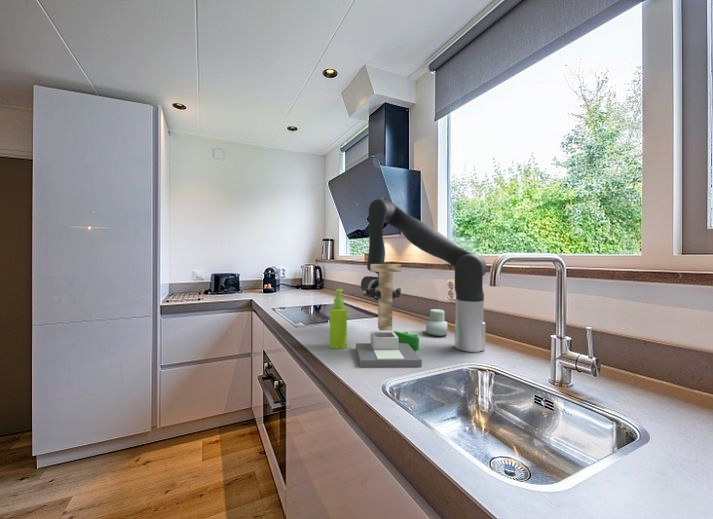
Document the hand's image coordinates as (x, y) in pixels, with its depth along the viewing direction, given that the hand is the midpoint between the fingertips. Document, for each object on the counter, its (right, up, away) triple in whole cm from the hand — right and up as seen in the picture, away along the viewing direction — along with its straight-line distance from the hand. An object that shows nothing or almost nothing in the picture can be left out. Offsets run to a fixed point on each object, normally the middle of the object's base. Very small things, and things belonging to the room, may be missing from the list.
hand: (387, 295), depth 101 cm
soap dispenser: (-16, -19, +10) cm, 27 cm away
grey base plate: (0, -19, -1) cm, 20 cm away
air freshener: (+23, -20, +29) cm, 42 cm away
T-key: (0, -11, +3) cm, 12 cm away
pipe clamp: (+9, -20, +12) cm, 24 cm away
